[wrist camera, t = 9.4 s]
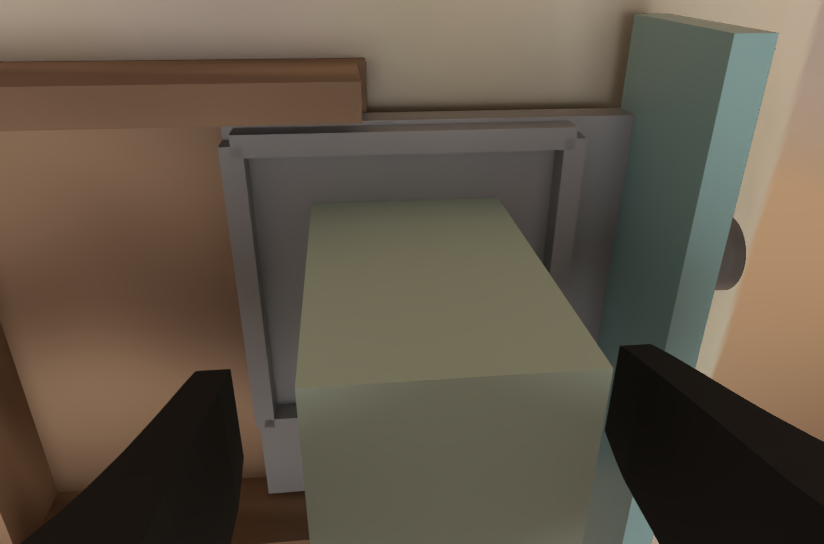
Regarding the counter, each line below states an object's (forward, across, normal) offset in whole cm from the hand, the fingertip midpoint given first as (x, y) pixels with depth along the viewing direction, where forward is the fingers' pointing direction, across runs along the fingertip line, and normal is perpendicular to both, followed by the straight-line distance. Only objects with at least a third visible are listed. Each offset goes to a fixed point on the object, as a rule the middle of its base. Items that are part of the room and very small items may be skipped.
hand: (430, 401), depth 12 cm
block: (+5, 0, 0) cm, 5 cm away
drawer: (+5, -2, +1) cm, 6 cm away
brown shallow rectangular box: (+6, +6, +1) cm, 9 cm away
